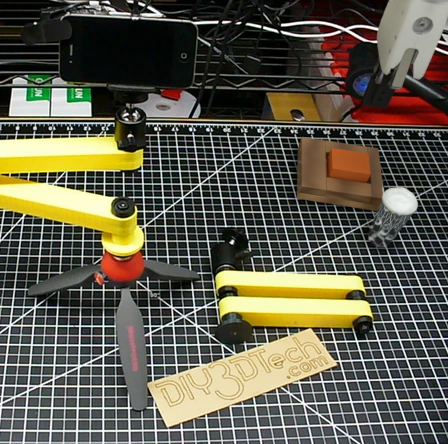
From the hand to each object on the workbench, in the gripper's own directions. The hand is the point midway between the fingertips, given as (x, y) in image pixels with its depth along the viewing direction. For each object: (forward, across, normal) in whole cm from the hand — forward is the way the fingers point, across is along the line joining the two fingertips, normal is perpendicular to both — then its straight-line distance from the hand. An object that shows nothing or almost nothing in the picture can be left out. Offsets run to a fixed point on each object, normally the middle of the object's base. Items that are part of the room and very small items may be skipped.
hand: (374, 103), depth 79 cm
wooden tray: (+15, 0, +1) cm, 15 cm away
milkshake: (+15, -11, -5) cm, 19 cm away
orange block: (+14, 0, 0) cm, 14 cm away
